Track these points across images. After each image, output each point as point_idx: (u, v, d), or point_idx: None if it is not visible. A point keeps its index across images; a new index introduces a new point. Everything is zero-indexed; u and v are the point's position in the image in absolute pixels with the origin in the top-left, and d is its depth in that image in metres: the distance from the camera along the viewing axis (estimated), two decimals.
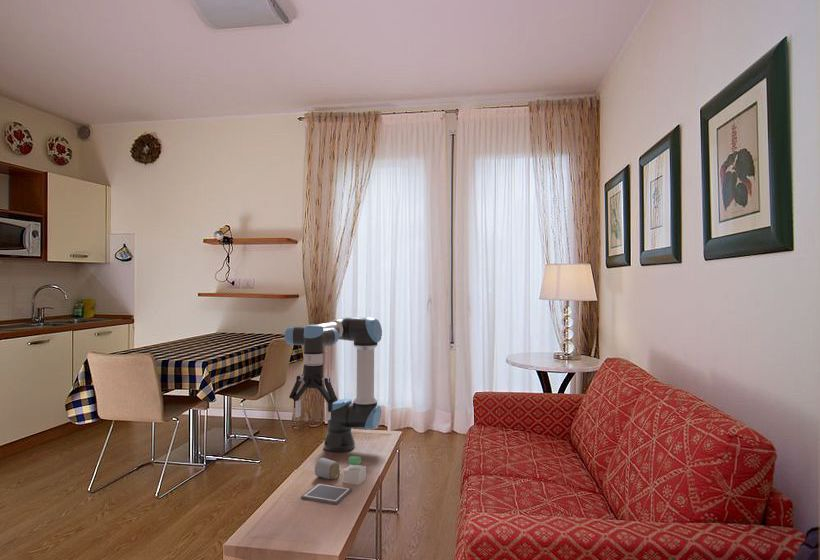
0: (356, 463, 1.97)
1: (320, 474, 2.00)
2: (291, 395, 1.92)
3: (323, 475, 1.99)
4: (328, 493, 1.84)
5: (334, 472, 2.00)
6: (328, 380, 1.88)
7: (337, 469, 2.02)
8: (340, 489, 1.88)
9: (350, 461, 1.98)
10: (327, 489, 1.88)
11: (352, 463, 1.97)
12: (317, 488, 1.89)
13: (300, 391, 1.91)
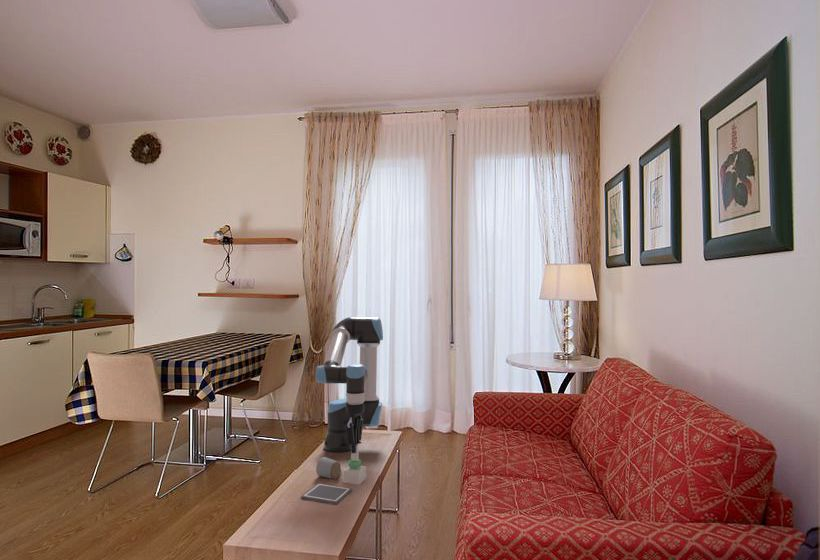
0: (356, 466, 1.97)
1: (321, 473, 2.00)
2: None
3: (324, 474, 2.00)
4: (328, 493, 1.84)
5: (336, 471, 2.01)
6: (348, 426, 1.94)
7: (338, 468, 2.03)
8: (340, 489, 1.88)
9: (350, 464, 1.98)
10: (327, 489, 1.88)
11: (352, 466, 1.97)
12: (317, 488, 1.89)
13: None
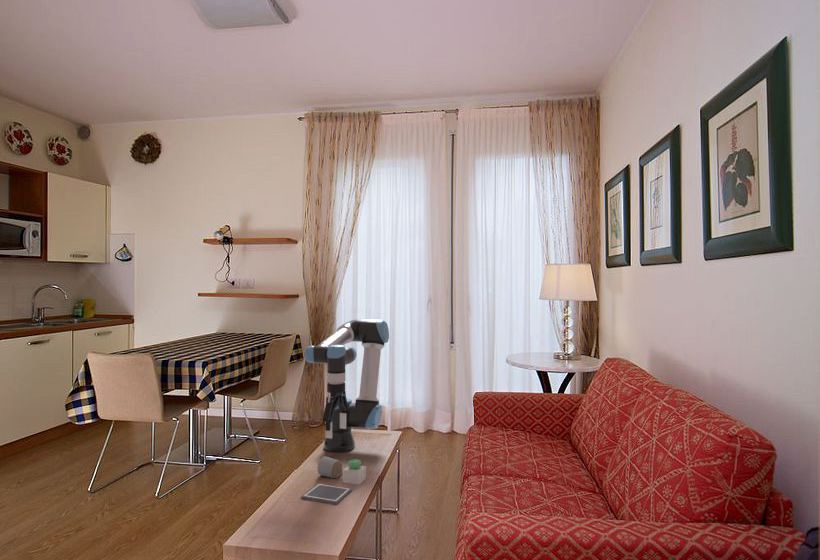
0: (356, 467, 1.97)
1: (323, 473, 2.01)
2: None
3: (326, 474, 2.01)
4: (328, 493, 1.84)
5: (337, 470, 2.02)
6: (328, 400, 1.97)
7: (340, 468, 2.03)
8: (340, 489, 1.88)
9: (350, 465, 1.98)
10: (327, 489, 1.88)
11: (352, 467, 1.97)
12: (317, 488, 1.89)
13: None
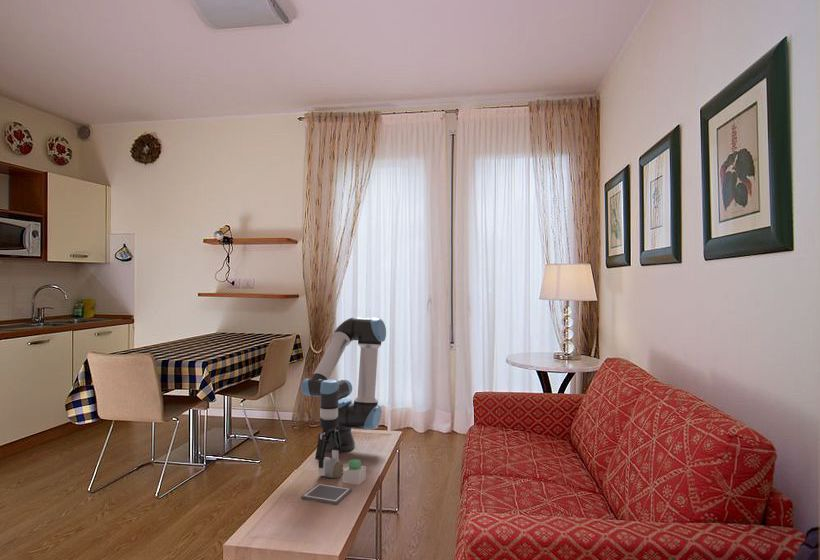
0: (356, 467, 1.97)
1: None
2: None
3: (327, 474, 2.01)
4: (328, 493, 1.84)
5: (338, 471, 2.02)
6: (320, 437, 1.97)
7: (341, 468, 2.04)
8: (340, 489, 1.88)
9: (350, 465, 1.98)
10: (327, 489, 1.88)
11: (352, 467, 1.97)
12: (317, 488, 1.89)
13: None
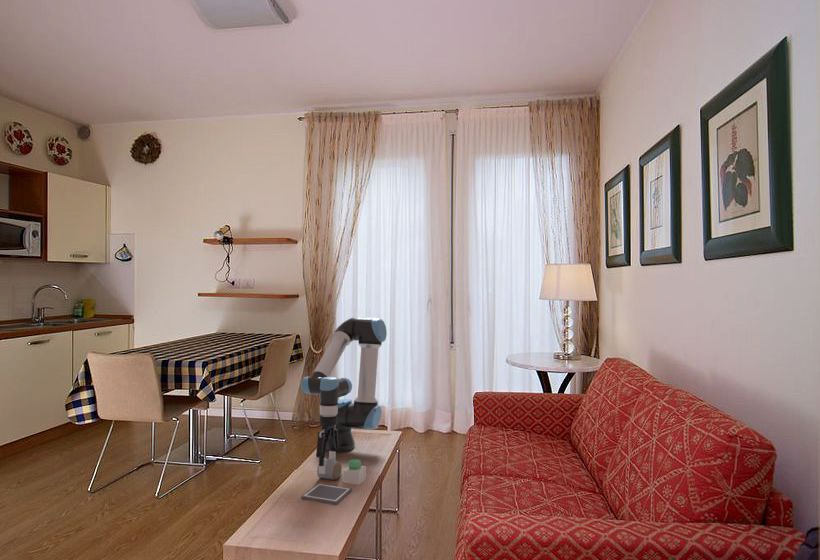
0: (356, 467, 1.97)
1: (323, 475, 1.99)
2: None
3: (326, 476, 1.98)
4: (328, 493, 1.84)
5: (337, 472, 2.00)
6: (320, 435, 1.97)
7: (340, 469, 2.02)
8: (340, 489, 1.88)
9: (350, 465, 1.98)
10: (327, 489, 1.88)
11: (352, 467, 1.97)
12: (317, 488, 1.89)
13: None
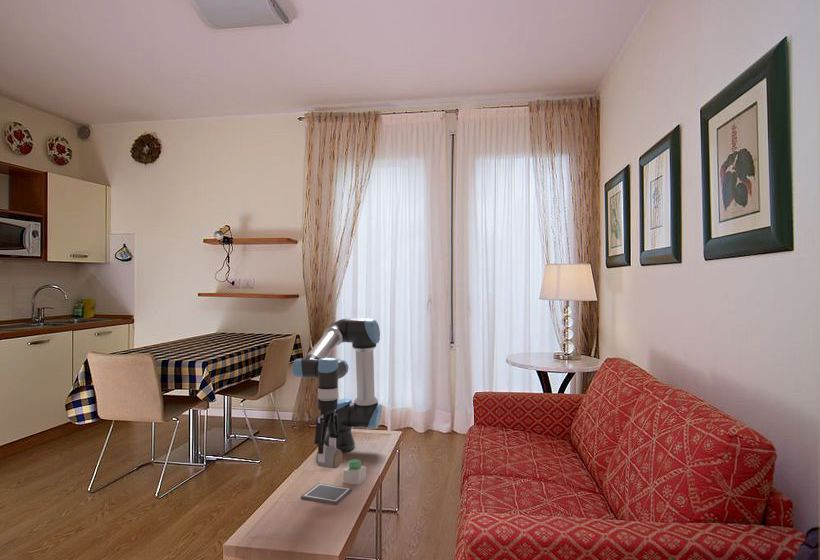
0: (356, 467, 1.97)
1: (322, 463, 1.83)
2: None
3: (326, 464, 1.83)
4: (328, 493, 1.84)
5: (338, 460, 1.85)
6: (318, 421, 1.81)
7: (340, 457, 1.86)
8: (340, 489, 1.88)
9: (350, 465, 1.98)
10: (327, 489, 1.88)
11: (352, 467, 1.97)
12: (317, 488, 1.89)
13: None
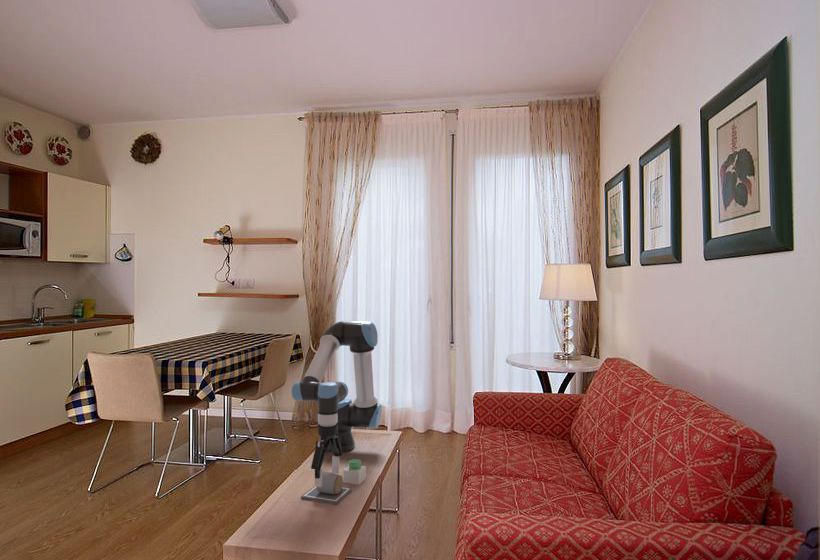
0: (356, 467, 1.97)
1: (323, 489, 1.82)
2: None
3: (326, 490, 1.82)
4: None
5: (338, 486, 1.84)
6: (318, 444, 1.80)
7: (341, 483, 1.85)
8: None
9: (350, 465, 1.98)
10: None
11: (352, 467, 1.97)
12: None
13: None
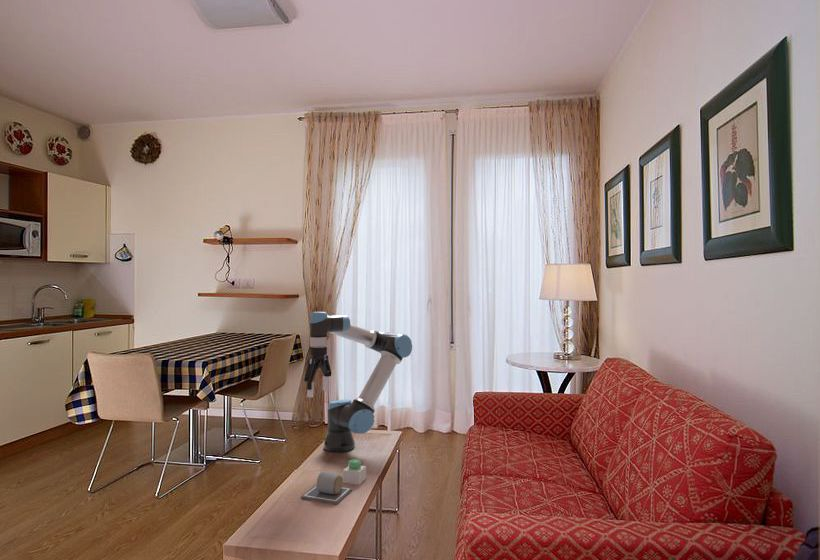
0: (356, 467, 1.97)
1: (323, 489, 1.82)
2: None
3: (326, 490, 1.82)
4: None
5: (338, 486, 1.84)
6: (310, 361, 2.11)
7: (341, 483, 1.85)
8: None
9: (350, 465, 1.98)
10: None
11: (352, 467, 1.97)
12: None
13: None
